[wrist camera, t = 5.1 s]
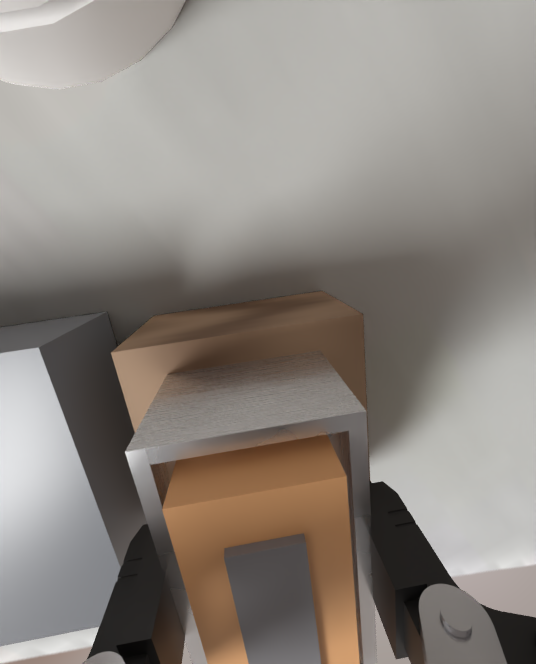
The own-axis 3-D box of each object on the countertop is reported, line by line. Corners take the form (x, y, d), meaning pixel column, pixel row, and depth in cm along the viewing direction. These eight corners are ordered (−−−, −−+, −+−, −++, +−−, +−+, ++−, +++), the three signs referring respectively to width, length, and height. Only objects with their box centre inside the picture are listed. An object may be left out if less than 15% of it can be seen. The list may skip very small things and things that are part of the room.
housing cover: (324, 427, 7) (350, 484, 6) (342, 631, 9) (365, 718, 8) (178, 452, 7) (159, 518, 5) (230, 655, 9) (228, 749, 8)
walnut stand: (322, 290, 15) (362, 313, 10) (337, 477, 18) (373, 563, 13) (153, 315, 14) (110, 352, 9) (199, 502, 17) (185, 600, 13)
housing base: (320, 350, 10) (366, 410, 6) (337, 552, 13) (377, 677, 9) (167, 374, 10) (125, 451, 6) (217, 576, 12) (208, 714, 9)
